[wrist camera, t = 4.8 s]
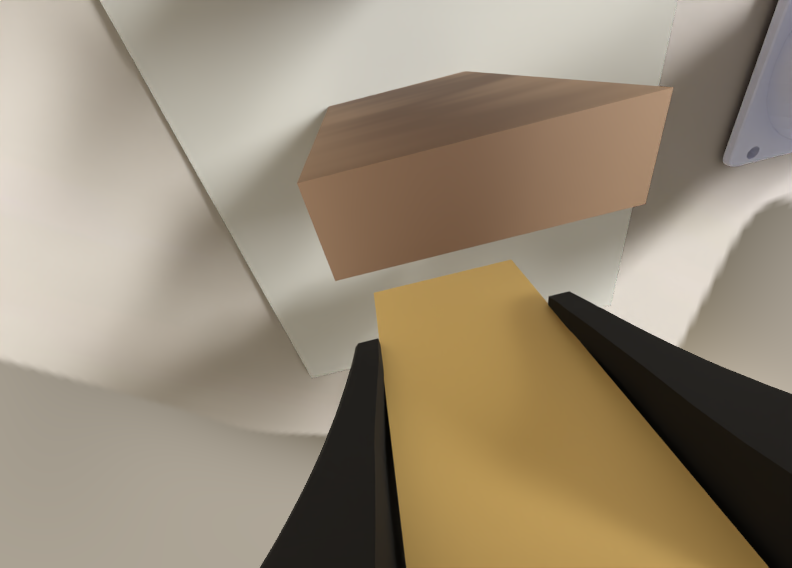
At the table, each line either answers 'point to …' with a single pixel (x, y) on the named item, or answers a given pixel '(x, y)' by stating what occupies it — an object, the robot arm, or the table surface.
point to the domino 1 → (475, 164)
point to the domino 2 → (528, 441)
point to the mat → (353, 79)
